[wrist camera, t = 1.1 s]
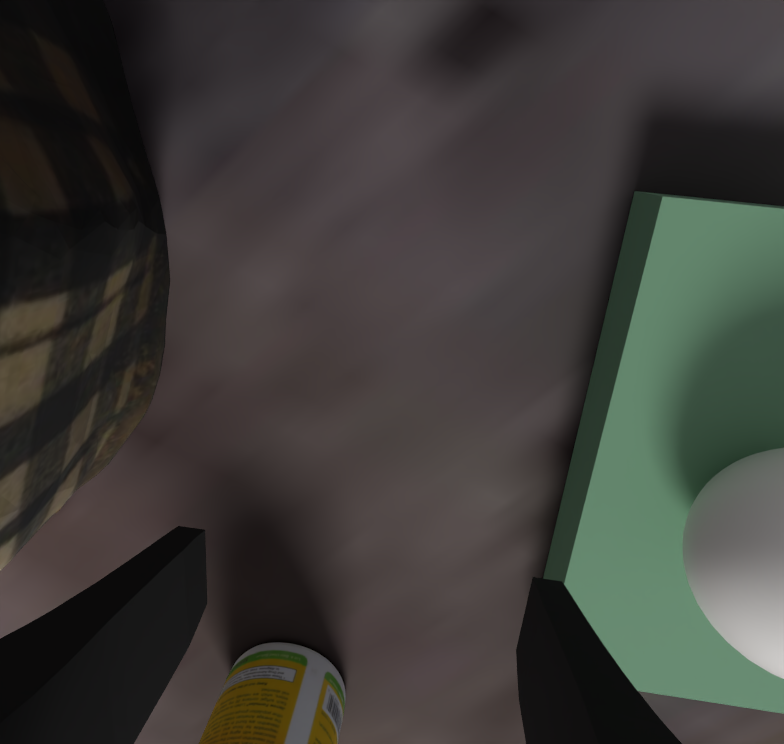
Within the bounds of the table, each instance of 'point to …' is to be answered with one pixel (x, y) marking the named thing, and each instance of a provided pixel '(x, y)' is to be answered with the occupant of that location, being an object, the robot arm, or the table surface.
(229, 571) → the table surface
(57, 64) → the decorative pumpkin
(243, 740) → the supplement bottle
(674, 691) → the putting board
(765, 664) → the white ball
